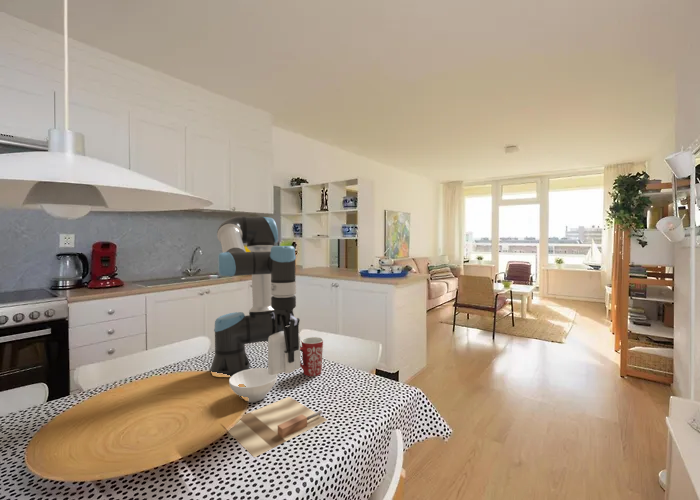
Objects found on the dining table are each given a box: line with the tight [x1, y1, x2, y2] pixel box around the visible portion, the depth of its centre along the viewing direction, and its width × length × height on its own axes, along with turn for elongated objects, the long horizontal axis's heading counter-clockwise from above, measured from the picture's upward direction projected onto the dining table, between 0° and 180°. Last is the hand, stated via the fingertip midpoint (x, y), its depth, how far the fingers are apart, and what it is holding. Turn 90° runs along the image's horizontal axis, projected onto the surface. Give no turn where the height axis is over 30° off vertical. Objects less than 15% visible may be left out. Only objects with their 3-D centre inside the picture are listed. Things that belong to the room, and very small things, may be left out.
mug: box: [300, 336, 324, 377], centre depth 130 cm, size 13×9×14 cm
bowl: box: [228, 367, 278, 403], centre depth 111 cm, size 16×16×7 cm
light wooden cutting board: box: [227, 396, 328, 458], centre depth 93 cm, size 20×23×2 cm
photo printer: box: [267, 331, 301, 375], centre depth 100 cm, size 10×4×12 cm, turn 124°
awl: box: [278, 410, 323, 438], centre depth 91 cm, size 14×2×2 cm, turn 134°
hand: (284, 369), depth 101 cm, fingers closed on photo printer, 5 cm apart
